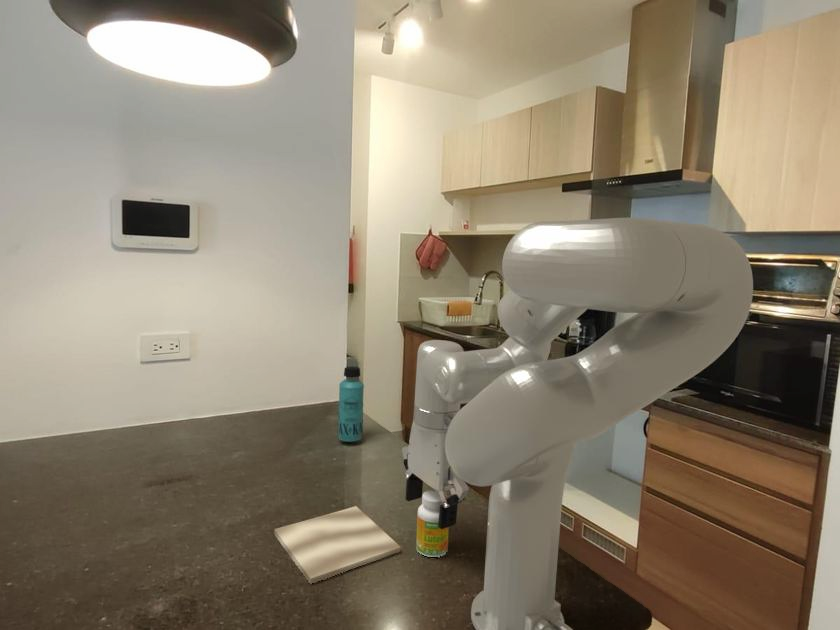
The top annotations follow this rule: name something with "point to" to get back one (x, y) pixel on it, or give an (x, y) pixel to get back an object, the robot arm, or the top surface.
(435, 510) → the supplement bottle
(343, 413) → the beverage bottle
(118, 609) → the top surface
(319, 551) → the birch board
